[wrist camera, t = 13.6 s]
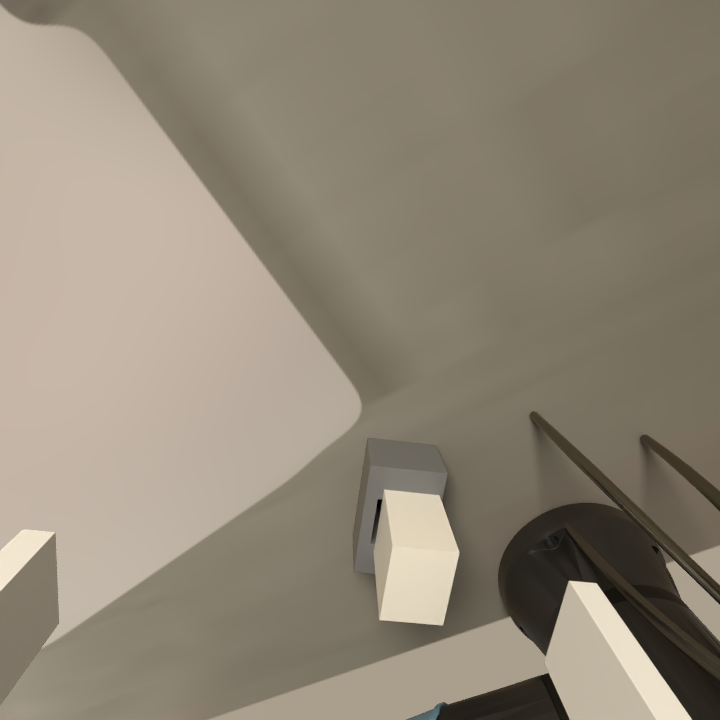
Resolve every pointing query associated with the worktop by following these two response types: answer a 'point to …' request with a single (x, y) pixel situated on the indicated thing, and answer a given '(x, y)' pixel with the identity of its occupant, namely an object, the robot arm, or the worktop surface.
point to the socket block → (391, 487)
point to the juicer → (682, 641)
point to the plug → (414, 558)
